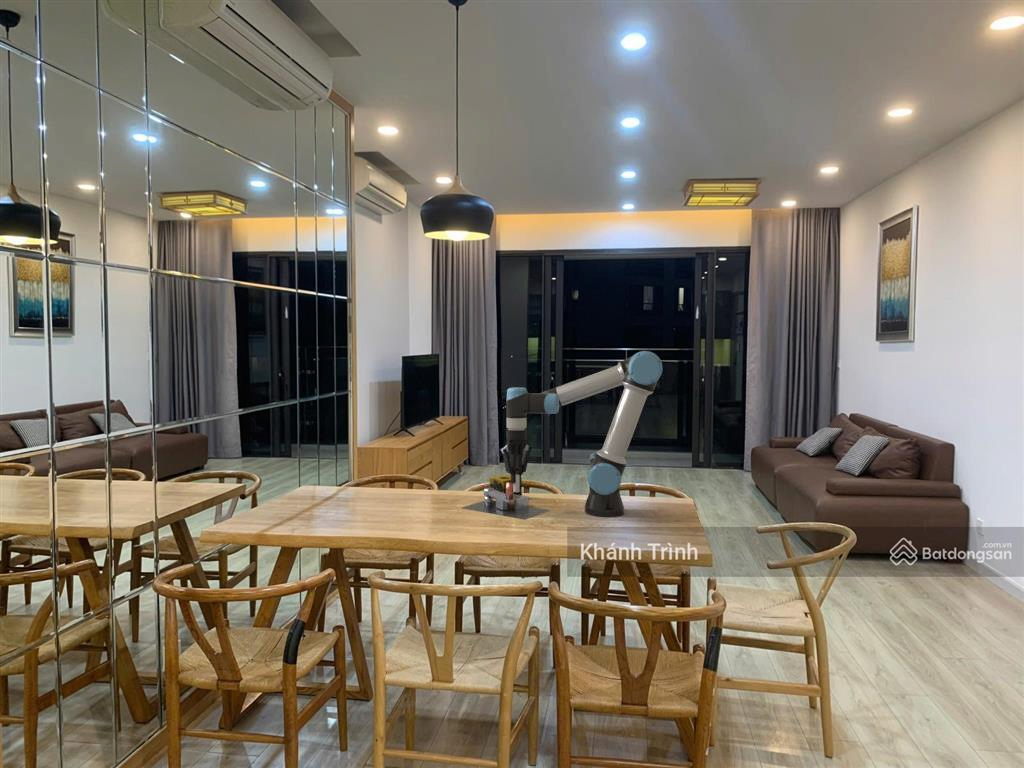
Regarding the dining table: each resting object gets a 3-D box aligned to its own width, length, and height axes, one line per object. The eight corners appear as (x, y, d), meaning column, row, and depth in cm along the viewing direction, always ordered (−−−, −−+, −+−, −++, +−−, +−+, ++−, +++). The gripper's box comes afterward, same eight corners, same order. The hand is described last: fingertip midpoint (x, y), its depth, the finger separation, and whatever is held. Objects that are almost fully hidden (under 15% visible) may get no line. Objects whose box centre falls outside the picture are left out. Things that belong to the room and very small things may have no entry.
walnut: (519, 507, 258) (519, 497, 258) (512, 509, 254) (512, 499, 254) (510, 505, 261) (510, 495, 260) (503, 507, 257) (503, 497, 257)
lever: (481, 504, 260) (481, 476, 260) (491, 503, 263) (491, 475, 262) (507, 514, 245) (507, 484, 244) (517, 513, 247) (517, 482, 247)
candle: (508, 497, 283) (508, 474, 283) (522, 501, 275) (523, 477, 275) (488, 500, 277) (488, 476, 277) (503, 505, 269) (503, 480, 269)
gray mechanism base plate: (550, 514, 254) (551, 499, 254) (524, 523, 239) (524, 508, 239) (488, 503, 271) (488, 489, 271) (460, 511, 257) (460, 497, 256)
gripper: (525, 427, 255) (524, 488, 256) (496, 428, 248) (496, 491, 249) (536, 429, 248) (535, 491, 249) (507, 431, 241) (506, 495, 242)
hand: (515, 491), depth 249 cm, fingers closed
